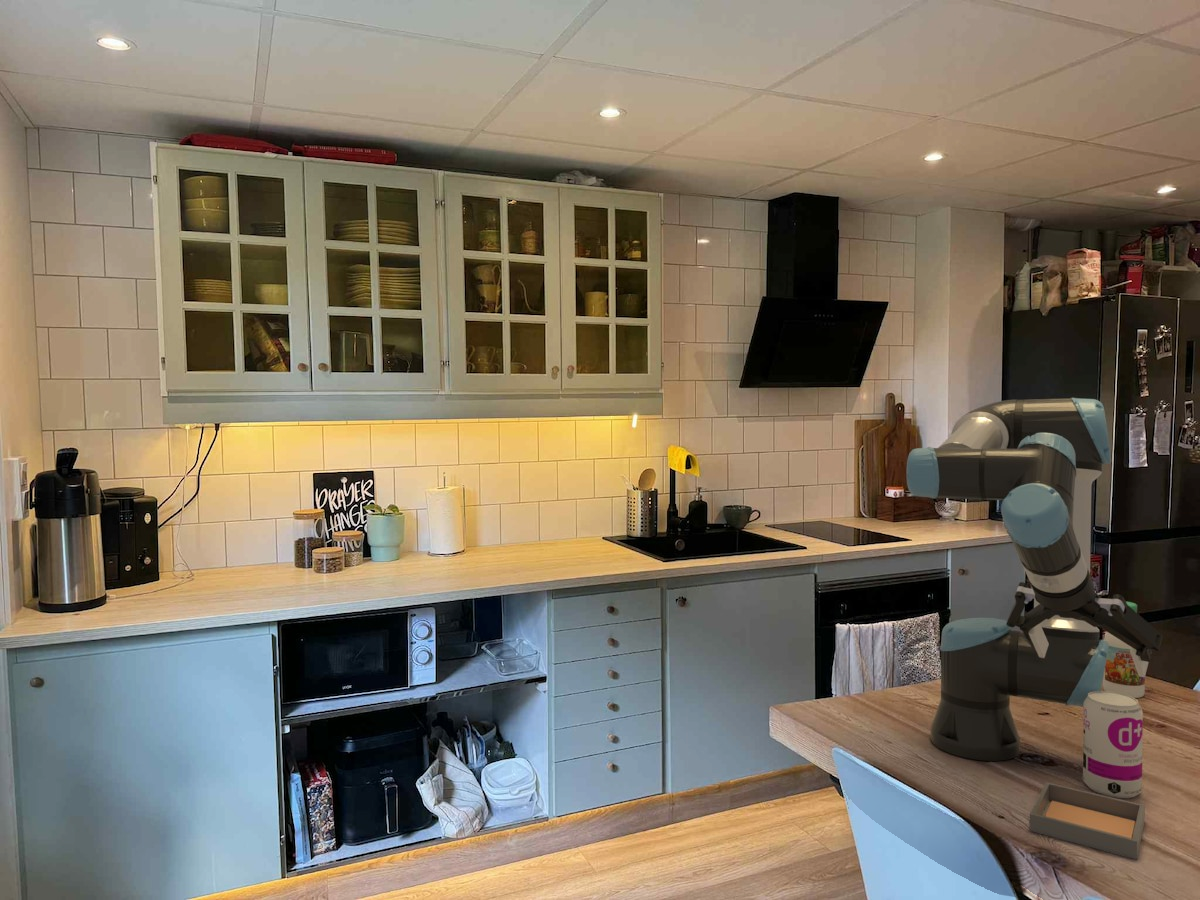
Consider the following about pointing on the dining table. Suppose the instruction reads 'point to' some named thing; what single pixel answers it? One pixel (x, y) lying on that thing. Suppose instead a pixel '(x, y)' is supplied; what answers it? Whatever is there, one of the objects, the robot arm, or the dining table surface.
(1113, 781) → the supplement can
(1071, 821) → the tray
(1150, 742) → the dining table surface
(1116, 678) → the milk bottle
